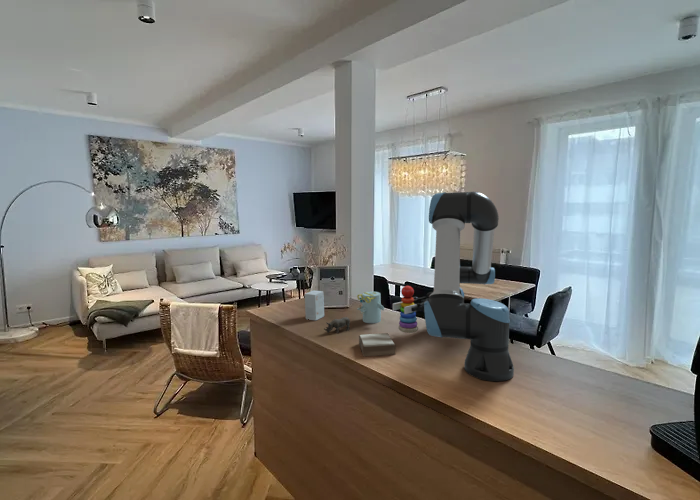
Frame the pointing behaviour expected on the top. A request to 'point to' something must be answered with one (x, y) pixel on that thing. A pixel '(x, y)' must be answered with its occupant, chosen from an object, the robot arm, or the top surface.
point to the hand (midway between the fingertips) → (399, 308)
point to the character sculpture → (371, 307)
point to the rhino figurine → (338, 324)
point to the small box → (314, 305)
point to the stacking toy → (408, 320)
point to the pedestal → (376, 344)
